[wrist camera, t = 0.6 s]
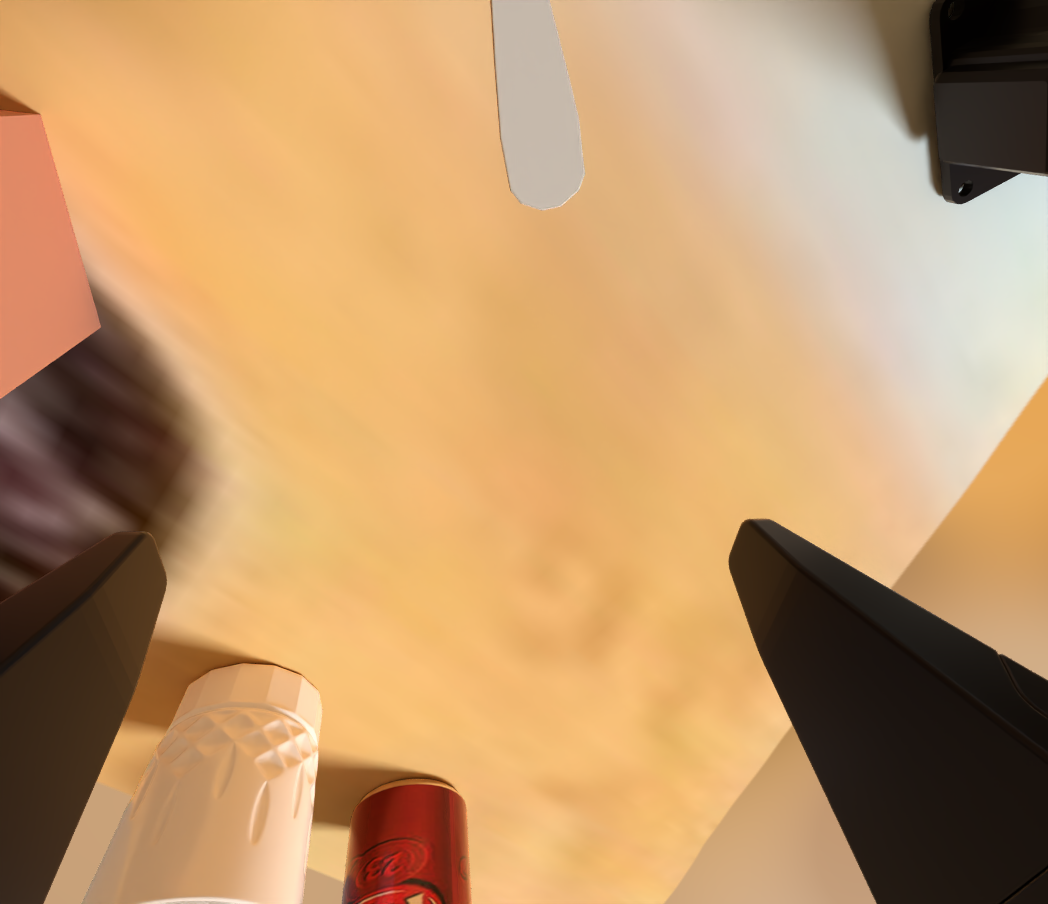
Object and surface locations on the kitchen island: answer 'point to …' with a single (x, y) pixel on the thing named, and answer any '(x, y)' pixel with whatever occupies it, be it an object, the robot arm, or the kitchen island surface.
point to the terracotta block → (36, 257)
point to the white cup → (222, 797)
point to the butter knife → (535, 105)
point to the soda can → (408, 846)
